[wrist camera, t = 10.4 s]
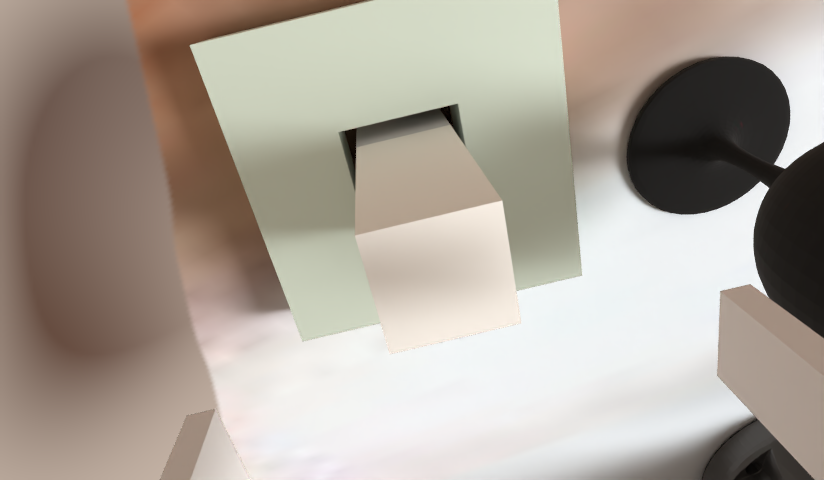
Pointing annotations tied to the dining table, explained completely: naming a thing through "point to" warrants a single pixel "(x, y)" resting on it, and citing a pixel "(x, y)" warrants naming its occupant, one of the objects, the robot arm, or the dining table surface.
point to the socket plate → (384, 100)
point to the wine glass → (737, 170)
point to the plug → (430, 234)
